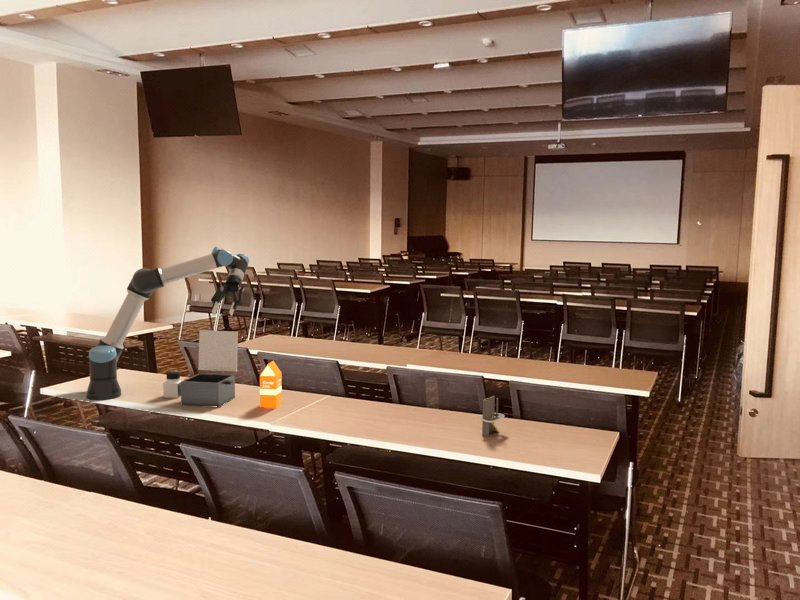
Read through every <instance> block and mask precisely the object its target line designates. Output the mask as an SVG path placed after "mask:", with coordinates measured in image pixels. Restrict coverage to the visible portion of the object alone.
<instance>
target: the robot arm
mask: <svg viewBox="0 0 800 600" xmlns="http://www.w3.org/2000/svg"><path fill="white" fill-rule="evenodd" d="M249 264H250V259H249V257H248V255H246V254H244V253H238V254H233V253H232V252H231V251H229V250H227V249H224V248H221V247H219V246H214V247H213V249H212V251H211V253H210V254H207V255H203V256H200V257H197V258H193V259H190V260H186V261H184V262H183V261H182V262H181V263H180V262H179V263H176V264H173V265H170V266H166V267H163V268H160V267H155V268H152V269H149V268H147V267H142V268H139V269H138V270H136V271H135V272H134V274H133V275H132V278H131V280H130V282H129V284H128V286H127V288H126V292H127V295H126V296H125V298H124V300H123V302H122V305H120V307H119V310H118V312H117V314H116V316H115V317H114V320H113V322H112V323H111V325H110V327H109V329H108V331H107V333H106V335H105V336H103V337H101V338H100V339H99V341H98V343H97V345H96V346H93V347H91V348H90V349H89V352H88V358H89V359H88V360H89V384H88V386H87V390H86V399H87V400H93V401H94V400H95V401H96V400H97V401H98V400H99V401H100V400H101V401H103V400H111V399H115V397H116V398H118V396H119V397H121V396H122V388H121V387H120V383H119V381H118V376H117V375H118V373H117V372H118V371H117V366H118V365H117V364H118V363H117V362H118V361H119V358H120V356H121V355H122V352H123V350H124V348H125V347H124V342H125V340H126V338H127V335H129V334H128V333H130V330H131V329H132V326H133V325H134V322H135V321H136V319H137V316H138V314H139V313H140V311H141V309H142V307H143V305H144V303H145V301H147V300H150V298H151V296H152V294H153V293H154V291H156V290H159V289H161V288H164V287H166V285H167V284H169V283H173V282H176V281H180V280H182V279H186V278H188V277H189V278H190V277H192V276H195V275H199V274H202V273H205V272H209V271H211V270H216V269H219V268H222V267H225V268H228V269H230V270H229V273H228V274H227V278H226V280H225V284H224V286H220V285H218V286H217V289H216V291H215V292H214V294H213V296H212V297H211V299H210V301H211V303H212V309H211V313H212V316H216V313H217V311H218V308H219V306H220V305H219V303H220V302H221V301H222V300H223V299H225V297H227V296H228V295H232V296H233V300H234V301H232V304H231V307H230V309H229V311H228V313H229V315H230V316H233V314H234V312H235V310H237V308H238V305H242V304H243V299H244V293H245V287H244V286H241V285H242V284H243V280H244V278H245V274H246V272H247V268H248V267H249ZM237 293H238V295H237ZM120 395H121V396H120ZM110 398H111V399H110Z"/></svg>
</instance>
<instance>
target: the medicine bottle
mask: <svg viewBox="0 0 800 600" xmlns="http://www.w3.org/2000/svg"><path fill="white" fill-rule="evenodd" d="M183 380H184V379H182V380H181V372H180V371H178V370H169V371H167V372H166V381H165V382H163V384H162V385H163V386H162V388H163V389H162V391H163V398H164V397H166V398H169V399H173V398H174V399H178V398H181V381H183Z"/></svg>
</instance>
